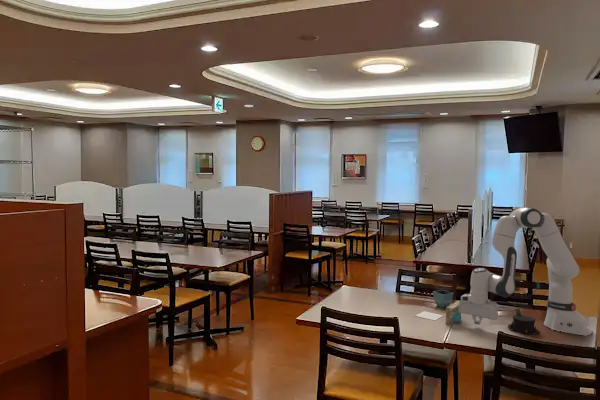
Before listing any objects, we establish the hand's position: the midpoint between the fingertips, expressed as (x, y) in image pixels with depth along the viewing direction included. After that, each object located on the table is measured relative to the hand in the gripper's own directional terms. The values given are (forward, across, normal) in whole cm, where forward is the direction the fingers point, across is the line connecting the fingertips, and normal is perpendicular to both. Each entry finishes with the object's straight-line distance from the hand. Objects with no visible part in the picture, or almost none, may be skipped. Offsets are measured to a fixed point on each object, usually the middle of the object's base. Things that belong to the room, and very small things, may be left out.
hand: (477, 324), depth 247 cm
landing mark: (+2, +27, 0) cm, 27 cm away
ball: (-1, +11, 0) cm, 11 cm away
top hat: (+2, -20, -12) cm, 24 cm away
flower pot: (+2, +29, -24) cm, 38 cm away
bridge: (+2, +13, 0) cm, 13 cm away
